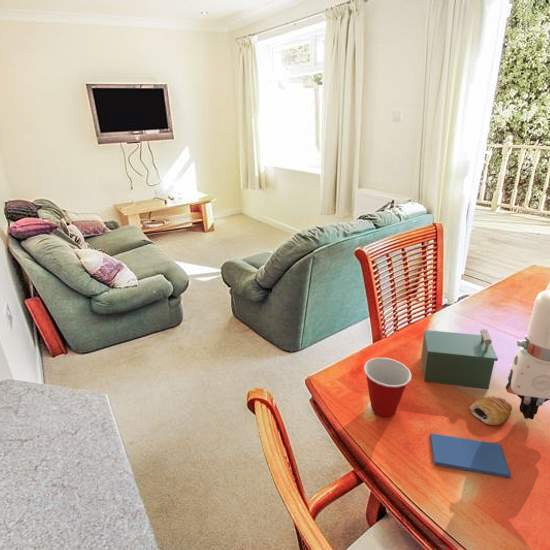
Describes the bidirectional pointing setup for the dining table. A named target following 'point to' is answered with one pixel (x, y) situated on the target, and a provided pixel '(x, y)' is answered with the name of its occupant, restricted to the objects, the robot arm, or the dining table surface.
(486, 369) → the bin
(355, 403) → the dining table surface
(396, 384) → the plastic cup
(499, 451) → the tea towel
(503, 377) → the dining table surface
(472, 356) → the bread bin lid
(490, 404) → the pastry
